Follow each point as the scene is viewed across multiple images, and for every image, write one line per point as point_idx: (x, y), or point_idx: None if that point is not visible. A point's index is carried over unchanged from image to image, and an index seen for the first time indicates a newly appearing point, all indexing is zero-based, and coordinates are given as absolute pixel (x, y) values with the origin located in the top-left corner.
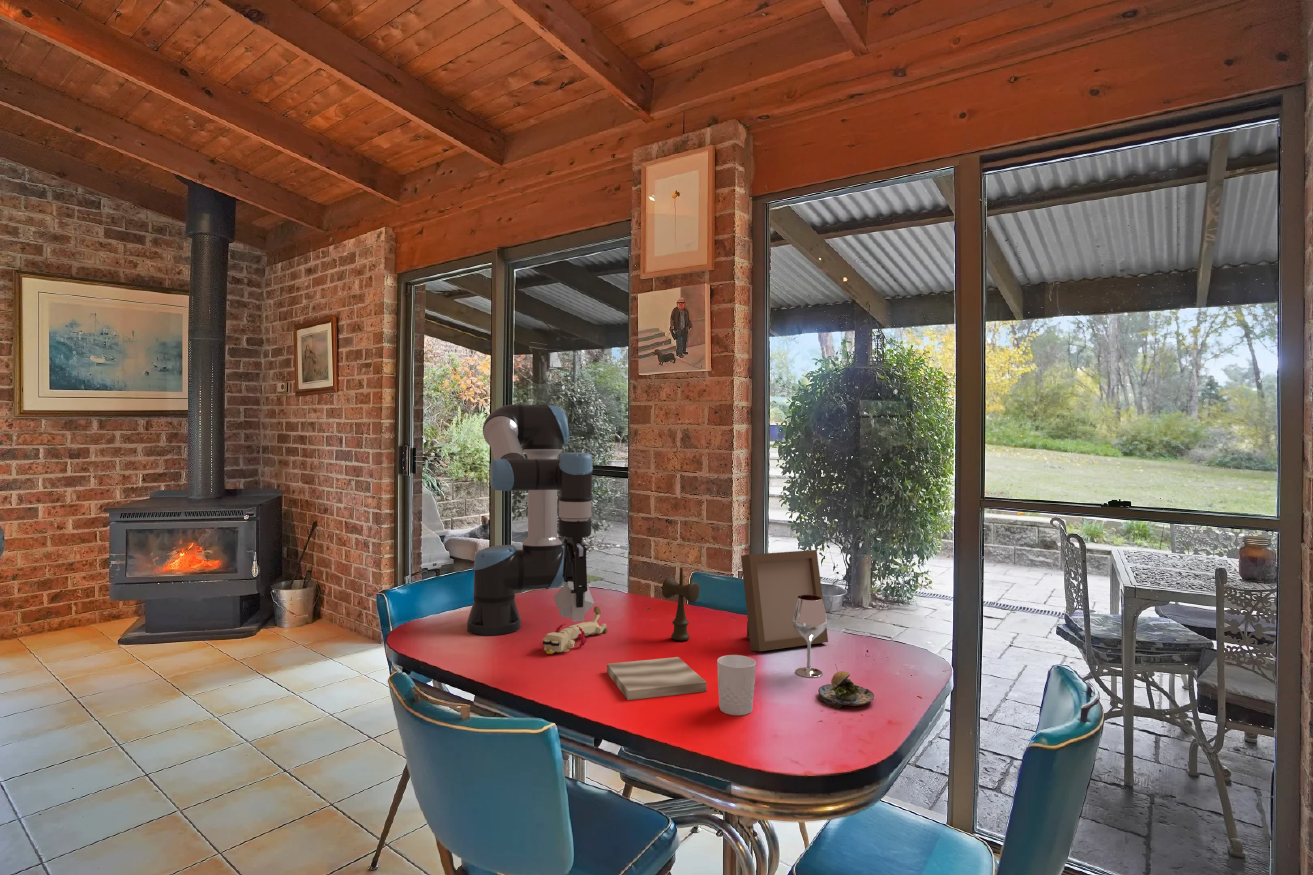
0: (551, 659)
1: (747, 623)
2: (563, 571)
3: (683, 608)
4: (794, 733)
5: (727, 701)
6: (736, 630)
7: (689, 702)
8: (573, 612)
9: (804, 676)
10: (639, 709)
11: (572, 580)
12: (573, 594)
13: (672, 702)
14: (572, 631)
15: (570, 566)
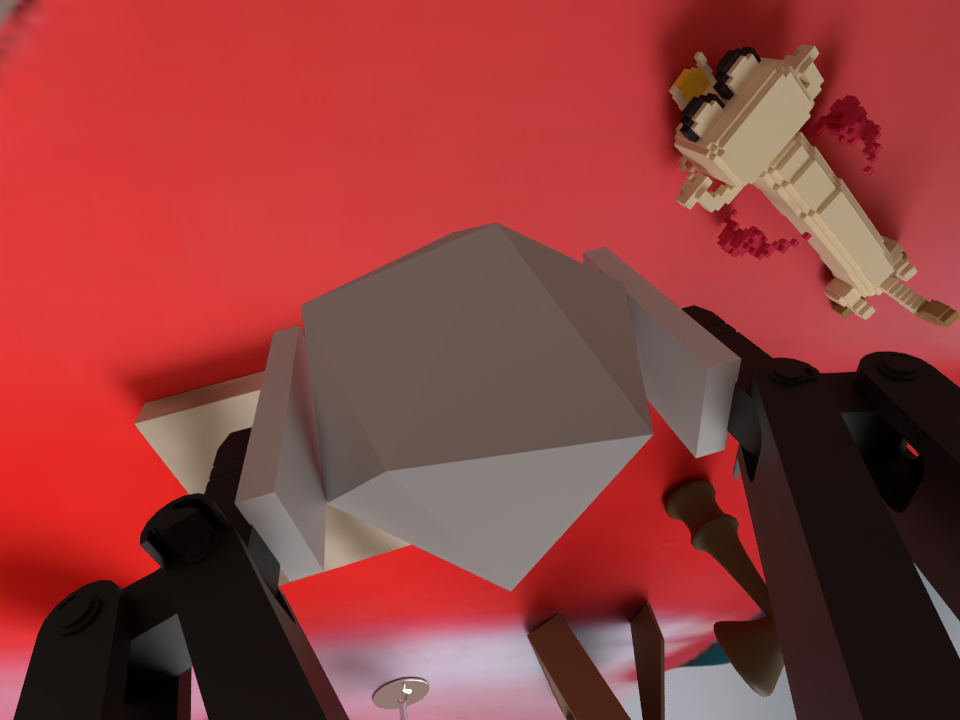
0: (620, 94)
1: (659, 637)
2: (933, 408)
3: (734, 578)
4: (15, 706)
5: None
6: (700, 584)
7: None
8: (268, 374)
9: (378, 690)
10: (63, 438)
11: (741, 441)
12: (240, 492)
13: (158, 510)
14: (794, 205)
15: (800, 611)
